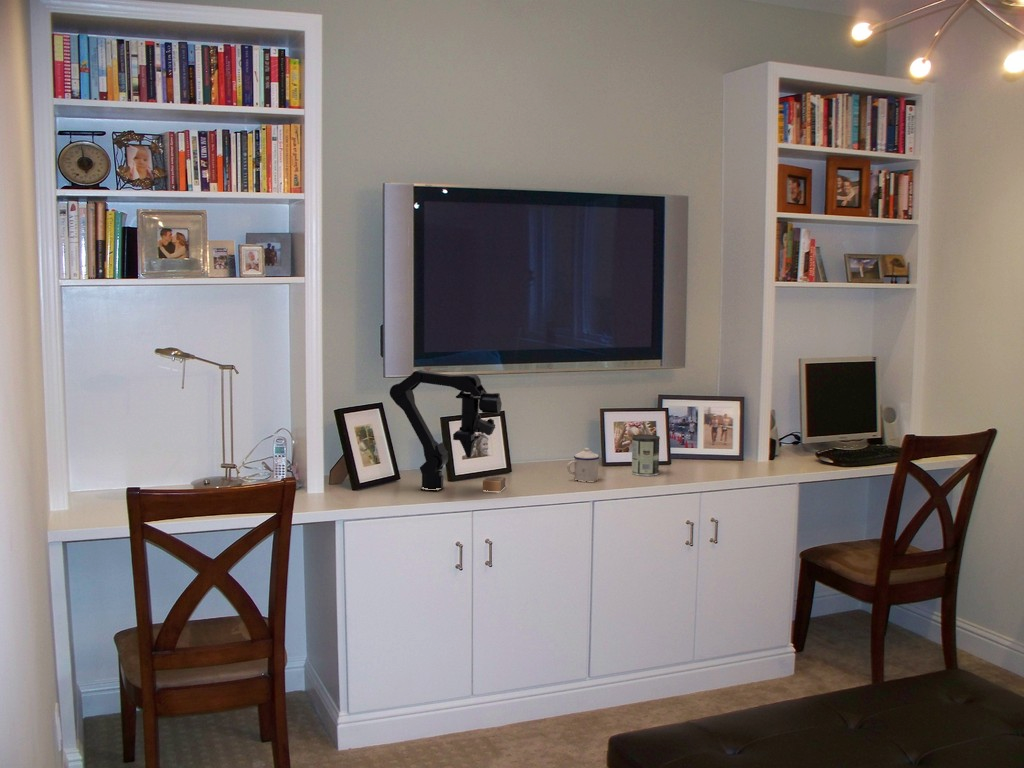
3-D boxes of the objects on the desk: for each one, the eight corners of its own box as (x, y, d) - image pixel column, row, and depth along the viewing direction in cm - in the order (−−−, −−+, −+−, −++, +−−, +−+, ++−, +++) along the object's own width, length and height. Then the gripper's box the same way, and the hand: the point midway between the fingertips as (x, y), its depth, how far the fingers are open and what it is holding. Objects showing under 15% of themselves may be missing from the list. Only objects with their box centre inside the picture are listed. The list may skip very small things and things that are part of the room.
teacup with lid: (592, 476, 341) (592, 445, 340) (602, 481, 333) (603, 449, 332) (562, 478, 337) (562, 447, 336) (572, 483, 329) (572, 451, 328)
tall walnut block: (482, 481, 314) (488, 476, 322) (482, 492, 315) (488, 487, 322) (499, 482, 313) (505, 477, 321) (499, 493, 313) (505, 488, 321)
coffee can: (649, 469, 355) (650, 433, 353) (664, 475, 345) (665, 437, 344) (626, 471, 351) (627, 434, 349) (639, 477, 341) (640, 439, 340)
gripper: (485, 417, 301) (484, 464, 303) (500, 409, 319) (499, 454, 321) (453, 415, 304) (452, 461, 306) (469, 407, 322) (468, 451, 324)
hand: (469, 457), depth 314 cm, fingers closed
